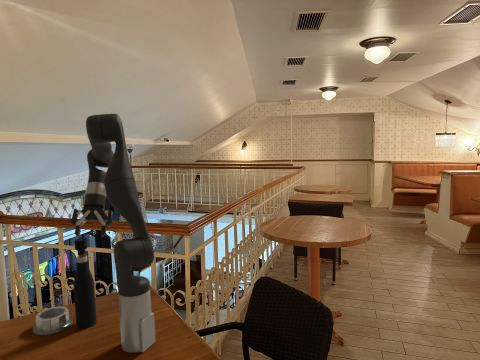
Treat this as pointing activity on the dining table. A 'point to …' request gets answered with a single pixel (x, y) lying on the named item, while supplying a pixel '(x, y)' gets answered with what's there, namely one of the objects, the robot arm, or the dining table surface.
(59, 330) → the bottle collar
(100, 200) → the robot arm
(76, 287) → the black bottle
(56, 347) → the dining table surface
